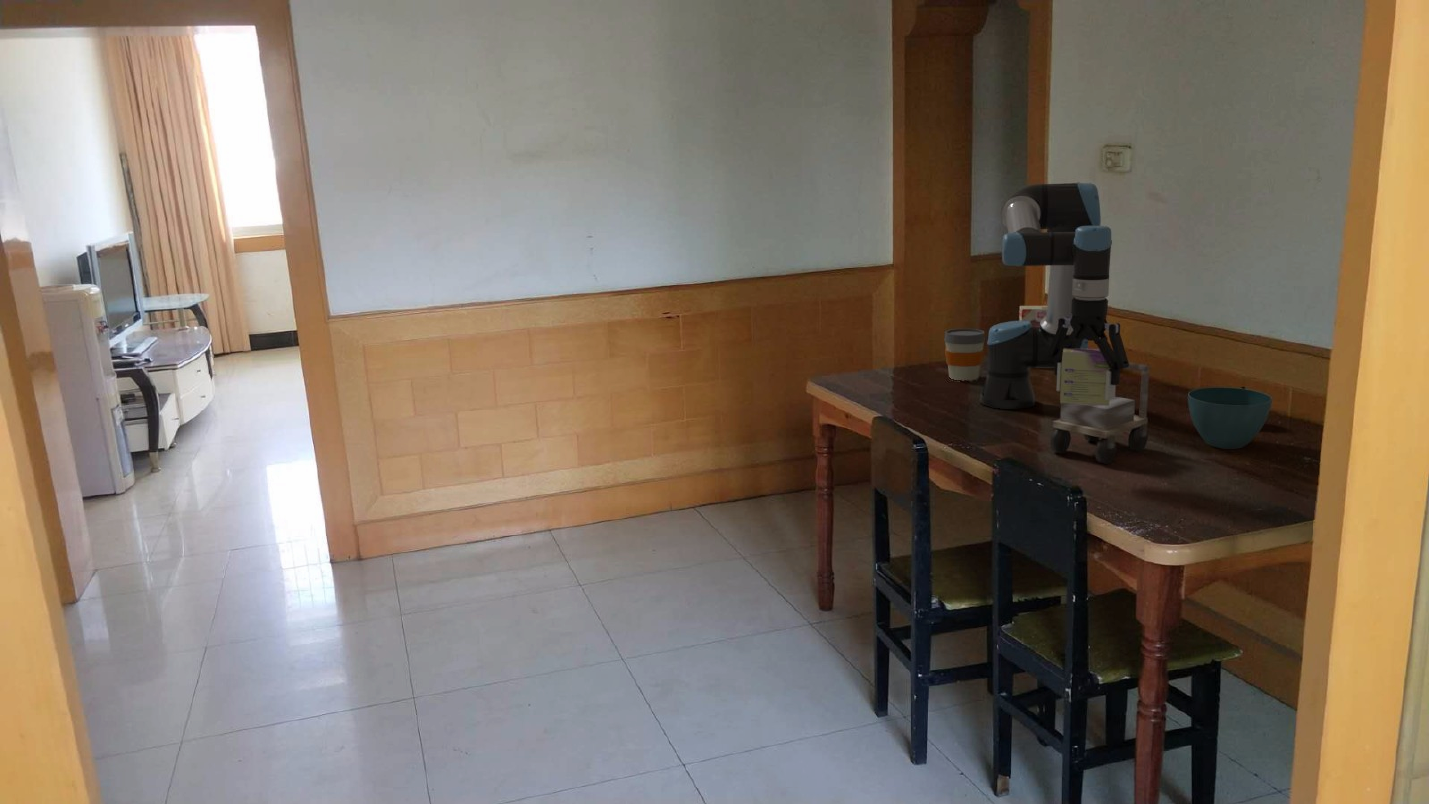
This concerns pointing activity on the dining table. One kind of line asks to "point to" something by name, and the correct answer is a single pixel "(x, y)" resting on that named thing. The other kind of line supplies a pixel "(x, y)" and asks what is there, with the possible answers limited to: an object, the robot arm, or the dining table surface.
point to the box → (1083, 377)
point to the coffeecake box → (1033, 314)
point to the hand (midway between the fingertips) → (1085, 394)
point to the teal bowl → (1228, 415)
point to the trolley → (1105, 422)
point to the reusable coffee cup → (964, 353)
